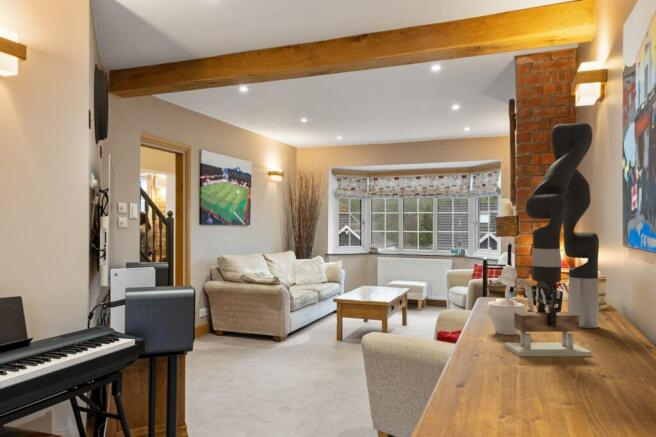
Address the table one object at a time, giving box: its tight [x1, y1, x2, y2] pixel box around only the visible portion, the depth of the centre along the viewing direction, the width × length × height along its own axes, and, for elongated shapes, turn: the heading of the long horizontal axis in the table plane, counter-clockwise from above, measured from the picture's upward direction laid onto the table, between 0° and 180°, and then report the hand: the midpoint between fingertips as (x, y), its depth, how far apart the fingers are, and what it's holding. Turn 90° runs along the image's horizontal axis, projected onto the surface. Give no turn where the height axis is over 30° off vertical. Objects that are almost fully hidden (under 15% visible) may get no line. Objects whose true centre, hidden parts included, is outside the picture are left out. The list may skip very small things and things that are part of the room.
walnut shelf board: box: [514, 311, 580, 333], centre depth 132 cm, size 16×5×4 cm, turn 91°
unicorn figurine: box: [514, 278, 551, 312], centre depth 193 cm, size 7×20×13 cm, turn 51°
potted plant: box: [486, 261, 526, 336], centre depth 154 cm, size 13×12×25 cm
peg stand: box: [503, 330, 593, 357], centre depth 132 cm, size 10×20×5 cm, turn 91°
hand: (546, 324), depth 132 cm, fingers closed on walnut shelf board, 5 cm apart
